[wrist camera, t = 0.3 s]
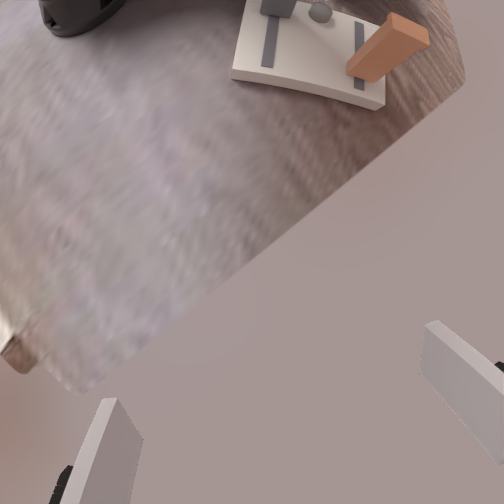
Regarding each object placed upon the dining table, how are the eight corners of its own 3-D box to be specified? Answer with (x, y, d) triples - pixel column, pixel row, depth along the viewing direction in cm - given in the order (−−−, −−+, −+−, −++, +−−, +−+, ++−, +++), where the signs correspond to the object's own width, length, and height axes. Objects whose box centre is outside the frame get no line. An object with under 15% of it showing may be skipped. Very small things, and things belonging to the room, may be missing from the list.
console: (246, 3, 32) (249, -15, 28) (374, 36, 34) (387, 23, 30) (231, 78, 34) (232, 63, 29) (374, 111, 36) (390, 101, 32)
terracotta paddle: (345, 60, 31) (391, 11, 19) (375, 70, 32) (427, 29, 20) (345, 75, 32) (393, 28, 19) (375, 84, 32) (430, 45, 20)
